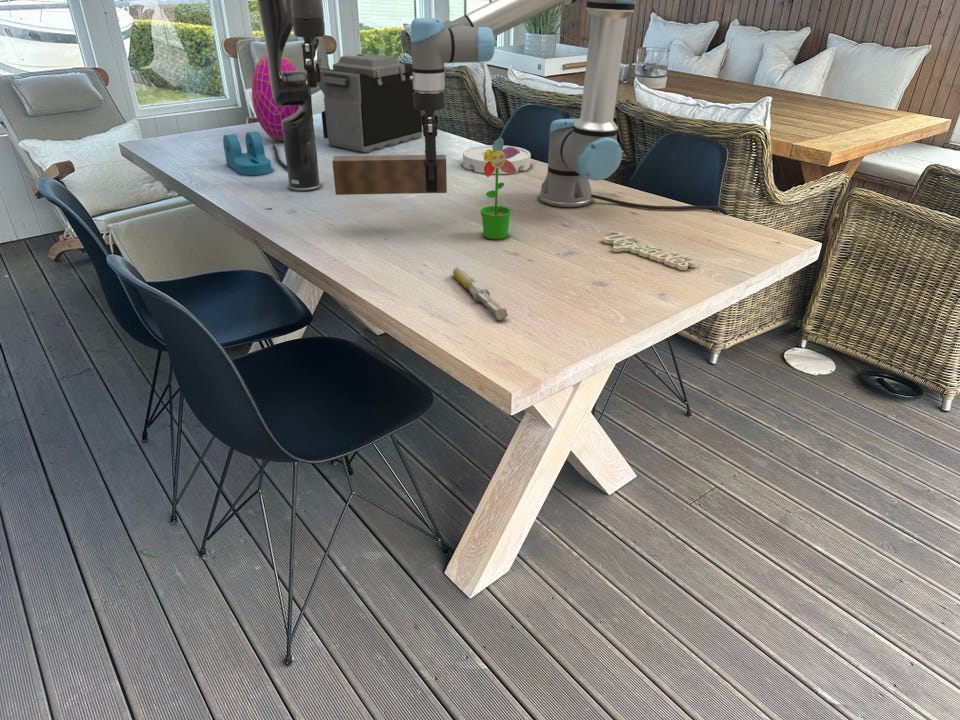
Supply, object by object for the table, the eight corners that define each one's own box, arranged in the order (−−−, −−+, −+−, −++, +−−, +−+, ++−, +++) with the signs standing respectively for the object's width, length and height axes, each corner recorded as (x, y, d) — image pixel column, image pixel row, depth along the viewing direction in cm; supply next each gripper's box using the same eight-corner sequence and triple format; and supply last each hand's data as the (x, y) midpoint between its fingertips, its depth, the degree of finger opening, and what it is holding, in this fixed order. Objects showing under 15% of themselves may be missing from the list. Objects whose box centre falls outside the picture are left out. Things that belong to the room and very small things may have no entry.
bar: (446, 187, 177) (445, 154, 172) (446, 193, 173) (446, 159, 168) (337, 189, 175) (334, 155, 170) (335, 194, 171) (332, 160, 166)
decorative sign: (589, 238, 172) (614, 230, 178) (588, 242, 173) (613, 233, 179) (677, 270, 156) (702, 259, 161) (677, 274, 156) (701, 263, 162)
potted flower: (487, 243, 172) (489, 140, 159) (473, 233, 178) (473, 134, 165) (519, 237, 176) (524, 137, 163) (505, 227, 182) (508, 130, 169)
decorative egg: (293, 132, 276) (283, 50, 261) (319, 140, 264) (310, 56, 249) (249, 139, 265) (236, 54, 250) (273, 148, 253) (261, 60, 238)
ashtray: (464, 155, 246) (464, 144, 244) (529, 157, 246) (529, 145, 244) (461, 173, 226) (461, 161, 224) (531, 174, 226) (531, 162, 224)
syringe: (449, 274, 155) (449, 263, 153) (465, 272, 156) (464, 260, 154) (490, 323, 135) (491, 310, 133) (508, 319, 136) (508, 307, 134)
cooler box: (385, 129, 283) (380, 49, 267) (426, 136, 272) (424, 54, 256) (318, 145, 257) (309, 59, 242) (361, 155, 246) (354, 64, 231)
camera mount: (227, 164, 233) (221, 132, 227) (257, 160, 238) (252, 129, 233) (244, 176, 220) (239, 143, 215) (276, 172, 225) (271, 139, 220)
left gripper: (296, 12, 176) (303, 80, 184) (287, 17, 164) (296, 89, 172) (326, 13, 177) (332, 80, 185) (319, 17, 164) (326, 89, 173)
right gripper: (412, 84, 170) (416, 178, 181) (412, 97, 154) (416, 199, 166) (443, 84, 170) (444, 178, 182) (446, 97, 155) (447, 198, 167)
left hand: (314, 84), depth 179 cm, fingers open, 8 cm apart
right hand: (431, 188), depth 174 cm, fingers closed on bar, 5 cm apart
